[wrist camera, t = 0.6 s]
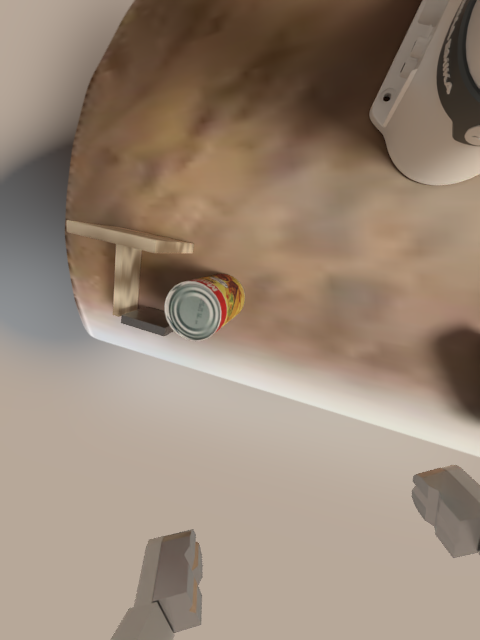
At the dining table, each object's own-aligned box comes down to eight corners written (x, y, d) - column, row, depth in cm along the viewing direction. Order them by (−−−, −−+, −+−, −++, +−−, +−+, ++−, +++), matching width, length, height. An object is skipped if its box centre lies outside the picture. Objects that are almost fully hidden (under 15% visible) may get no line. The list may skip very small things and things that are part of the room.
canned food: (234, 266, 41) (206, 271, 30) (251, 311, 42) (230, 331, 31) (194, 283, 44) (154, 293, 32) (211, 324, 45) (178, 348, 34)
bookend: (147, 306, 47) (121, 314, 41) (185, 317, 46) (165, 328, 39) (147, 313, 48) (121, 322, 41) (185, 324, 46) (164, 336, 40)
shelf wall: (122, 227, 45) (66, 220, 34) (194, 243, 42) (155, 240, 32) (118, 304, 49) (67, 318, 39) (183, 324, 46) (146, 344, 36)
